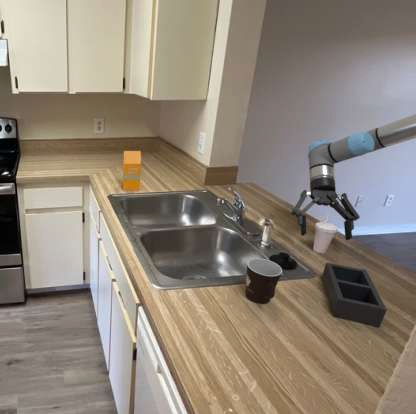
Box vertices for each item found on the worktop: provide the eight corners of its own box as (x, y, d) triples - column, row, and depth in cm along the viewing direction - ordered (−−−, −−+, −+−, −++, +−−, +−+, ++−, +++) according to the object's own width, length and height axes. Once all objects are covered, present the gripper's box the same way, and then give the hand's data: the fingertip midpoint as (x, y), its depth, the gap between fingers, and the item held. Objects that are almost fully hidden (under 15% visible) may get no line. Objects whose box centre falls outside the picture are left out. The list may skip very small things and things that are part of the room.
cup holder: (360, 285, 98) (366, 270, 96) (379, 327, 83) (386, 309, 80) (321, 277, 102) (326, 262, 100) (332, 316, 86) (338, 299, 84)
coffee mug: (243, 283, 99) (249, 255, 95) (275, 293, 95) (283, 263, 91) (236, 306, 90) (243, 275, 86) (271, 317, 86) (280, 286, 82)
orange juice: (122, 185, 181) (123, 149, 173) (138, 185, 181) (140, 149, 173) (123, 190, 174) (124, 152, 166) (139, 190, 173) (141, 152, 165)
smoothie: (312, 244, 121) (323, 209, 115) (333, 251, 116) (344, 214, 111) (305, 249, 117) (316, 214, 112) (326, 257, 113) (338, 220, 107)
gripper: (356, 188, 120) (362, 244, 113) (281, 182, 126) (282, 235, 119) (367, 178, 114) (375, 237, 106) (287, 173, 119) (289, 229, 112)
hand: (326, 236), depth 113 cm, fingers open, 13 cm apart
